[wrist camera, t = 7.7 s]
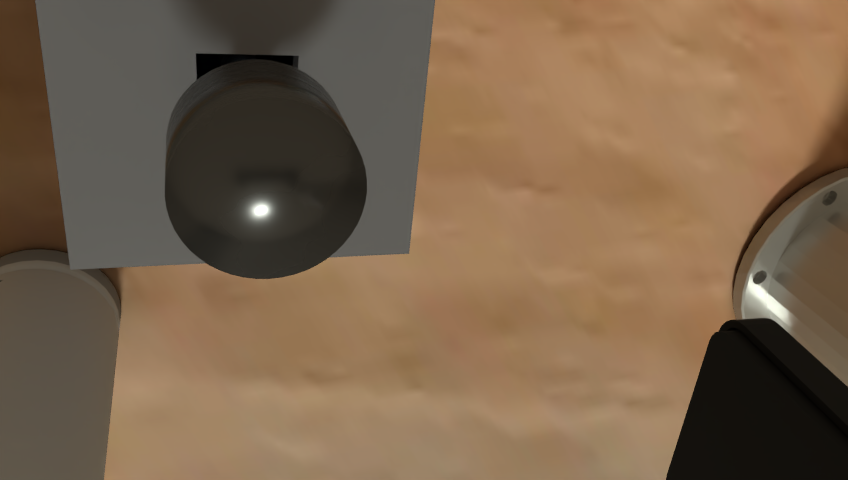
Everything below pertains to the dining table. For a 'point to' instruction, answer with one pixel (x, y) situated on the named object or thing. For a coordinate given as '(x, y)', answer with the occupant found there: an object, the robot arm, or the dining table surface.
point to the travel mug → (55, 367)
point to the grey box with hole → (176, 70)
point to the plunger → (261, 168)
